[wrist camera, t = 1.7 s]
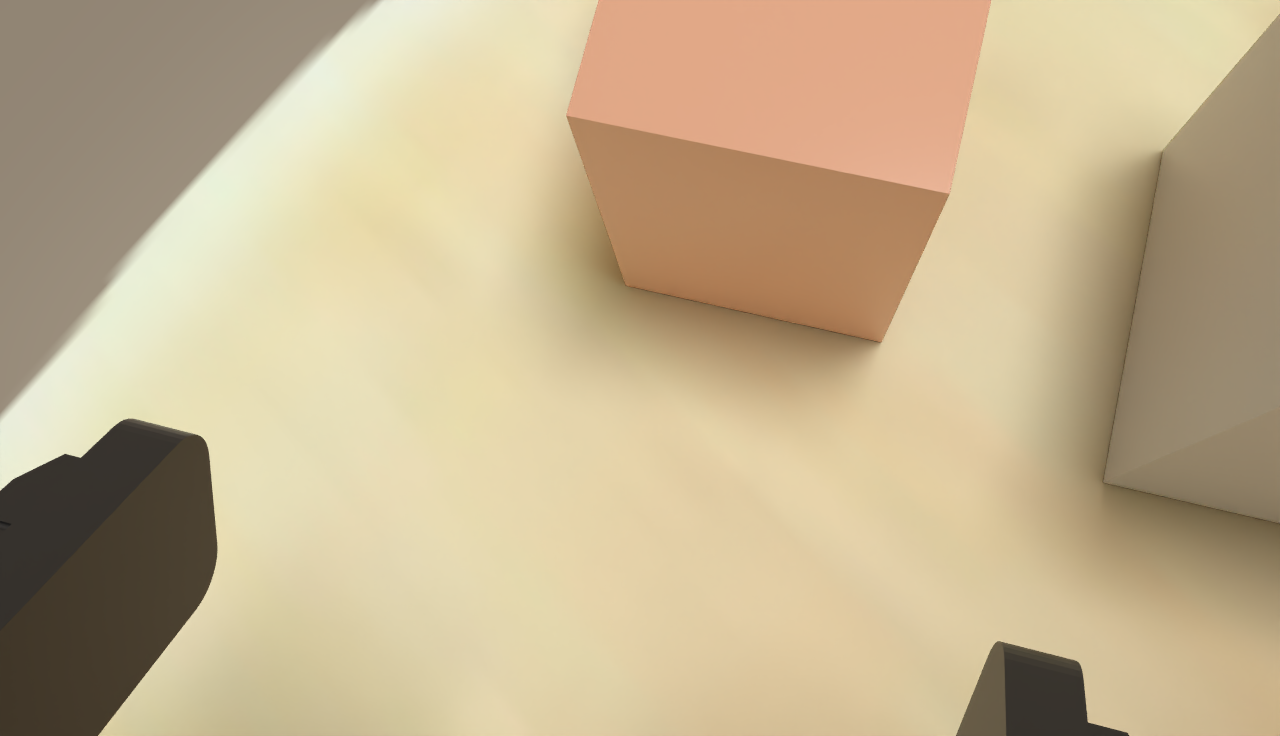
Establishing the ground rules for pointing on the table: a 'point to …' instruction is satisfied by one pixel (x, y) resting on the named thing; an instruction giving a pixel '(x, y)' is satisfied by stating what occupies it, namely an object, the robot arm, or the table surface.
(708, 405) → the table surface
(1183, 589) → the table surface
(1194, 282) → the grey upright block
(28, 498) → the robot arm
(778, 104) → the terracotta clay block
